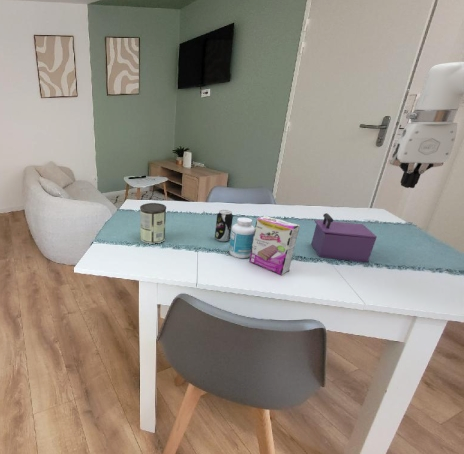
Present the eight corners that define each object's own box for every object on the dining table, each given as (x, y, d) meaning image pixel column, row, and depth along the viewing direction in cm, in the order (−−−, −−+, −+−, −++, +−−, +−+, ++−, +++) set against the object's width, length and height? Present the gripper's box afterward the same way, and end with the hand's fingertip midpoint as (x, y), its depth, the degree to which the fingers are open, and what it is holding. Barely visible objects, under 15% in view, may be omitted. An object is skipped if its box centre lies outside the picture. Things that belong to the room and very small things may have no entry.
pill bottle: (255, 255, 104) (261, 220, 99) (242, 261, 101) (248, 225, 95) (236, 247, 110) (241, 214, 105) (224, 253, 107) (228, 219, 101)
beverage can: (229, 243, 113) (233, 214, 109) (213, 241, 116) (216, 213, 111) (230, 237, 118) (233, 209, 113) (215, 235, 121) (218, 208, 116)
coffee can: (148, 231, 127) (149, 201, 122) (169, 237, 121) (171, 205, 115) (135, 240, 120) (134, 208, 115) (156, 246, 114) (157, 213, 108)
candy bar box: (248, 262, 100) (255, 218, 93) (256, 257, 102) (264, 214, 96) (281, 276, 91) (292, 228, 85) (289, 271, 94) (300, 224, 87)
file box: (319, 257, 101) (325, 234, 97) (311, 244, 110) (316, 222, 106) (367, 262, 96) (376, 238, 93) (355, 248, 105) (362, 225, 102)
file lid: (323, 232, 97) (326, 220, 96) (314, 221, 106) (317, 210, 105) (376, 238, 93) (381, 225, 91) (362, 225, 102) (366, 214, 100)
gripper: (403, 119, 74) (380, 189, 81) (484, 117, 69) (451, 191, 76) (388, 117, 80) (368, 182, 87) (461, 115, 75) (433, 184, 82)
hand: (407, 186), depth 82 cm, fingers closed
